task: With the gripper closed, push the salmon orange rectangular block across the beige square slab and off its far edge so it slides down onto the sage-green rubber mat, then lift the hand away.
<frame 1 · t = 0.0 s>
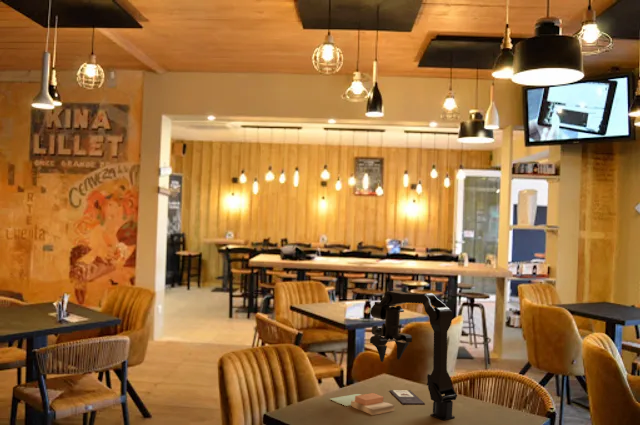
hand: (390, 360, 248), 15 cm above the table, tool pointing down, fingers open, 9 cm apart
chocolate bar: (406, 399, 248), on the table
mat: (352, 400, 240), on the table
salmon orange rectangular block: (369, 401, 233), point 2 cm above the table, touching beige square slab
beige square slab: (372, 408, 231), on the table
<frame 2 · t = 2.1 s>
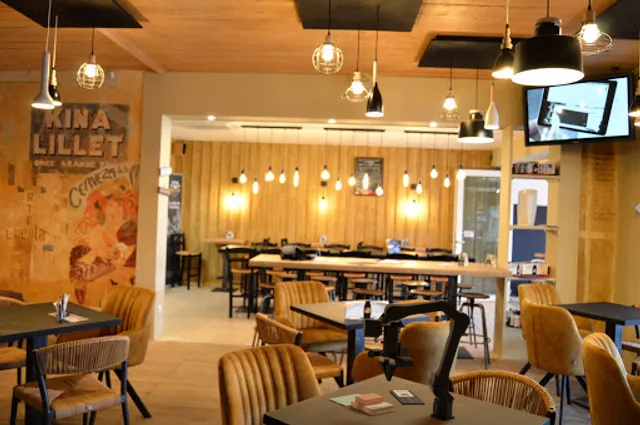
hand: (388, 381, 225), 12 cm above the table, tool pointing down, fingers closed
nothing on the table moved.
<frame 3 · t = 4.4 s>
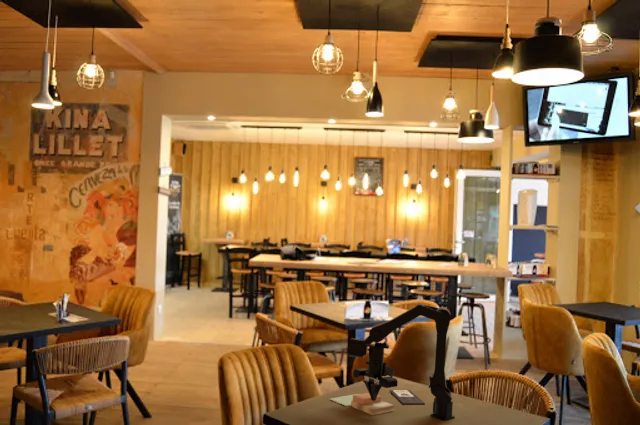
hand: (373, 400, 231), 3 cm above the table, tool pointing down, fingers closed
salmon orange rectangular block: (366, 400, 234), point 2 cm above the table, touching gripper
everything else where it was.
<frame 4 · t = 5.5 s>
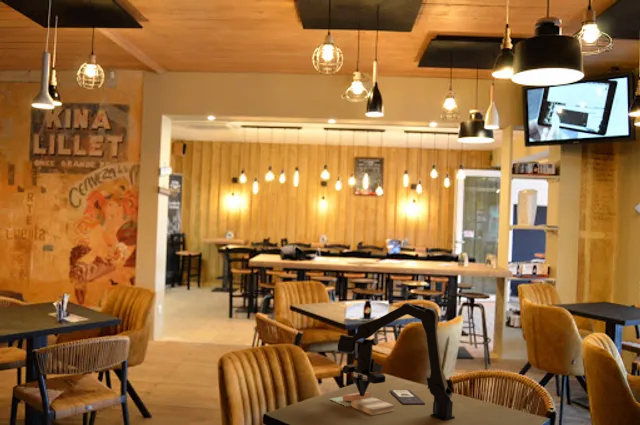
hand: (362, 396, 236), 3 cm above the table, tool pointing down, fingers closed
salmon orange rectangular block: (356, 399, 238), point 1 cm above the table, tilted 15°, touching mat
everything else where it was.
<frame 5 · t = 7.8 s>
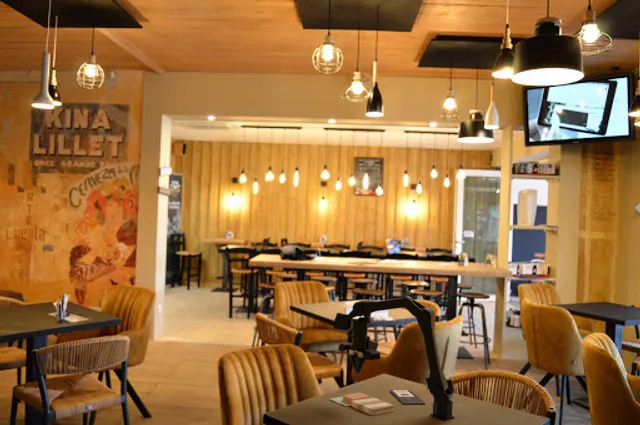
hand: (357, 373, 238), 11 cm above the table, tool pointing down, fingers closed
salmon orange rectangular block: (356, 400, 238), resting on mat
everything else where it was.
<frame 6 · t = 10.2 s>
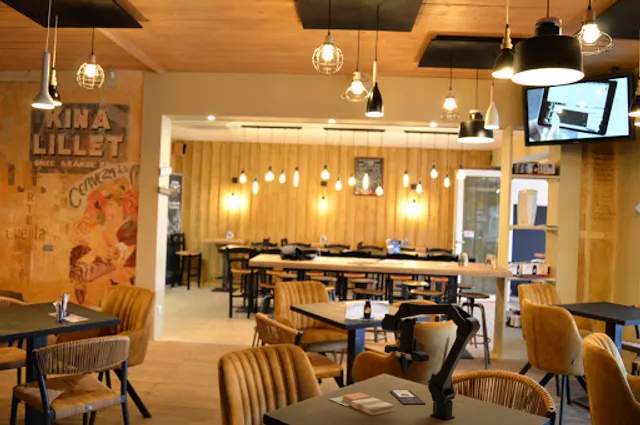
hand: (404, 375, 236), 12 cm above the table, tool pointing down, fingers closed
nothing on the table moved.
at the end: salmon orange rectangular block inside the target area (3.3 cm from its centre), resting on mat; salmon orange rectangular block touching mat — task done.
